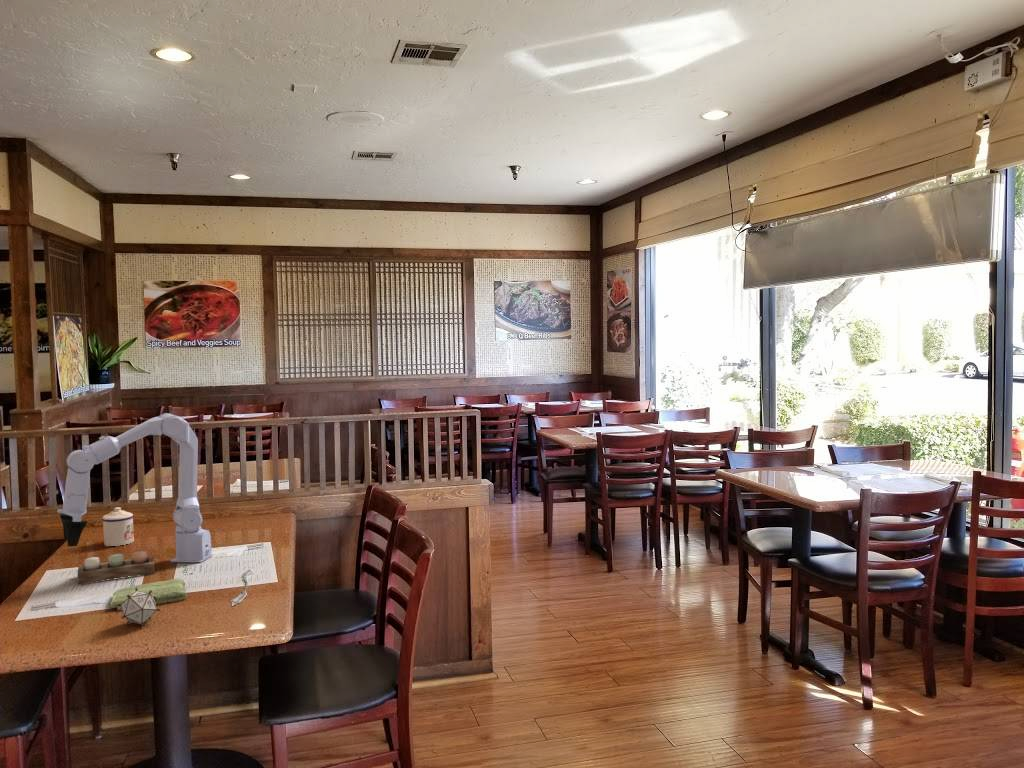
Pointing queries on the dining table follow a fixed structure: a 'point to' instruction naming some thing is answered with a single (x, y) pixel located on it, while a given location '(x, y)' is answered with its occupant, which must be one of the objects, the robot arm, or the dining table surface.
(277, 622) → the dining table surface
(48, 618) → the dining table surface
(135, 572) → the button panel
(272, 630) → the dining table surface
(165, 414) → the robot arm
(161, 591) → the washcloth
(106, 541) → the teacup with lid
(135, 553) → the terracotta button
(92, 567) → the cream button
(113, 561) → the sage button
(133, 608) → the game die
